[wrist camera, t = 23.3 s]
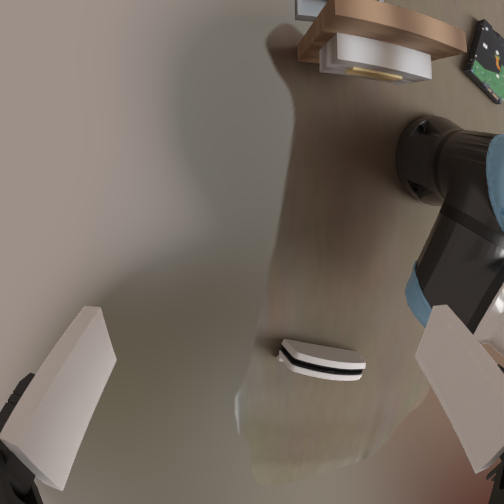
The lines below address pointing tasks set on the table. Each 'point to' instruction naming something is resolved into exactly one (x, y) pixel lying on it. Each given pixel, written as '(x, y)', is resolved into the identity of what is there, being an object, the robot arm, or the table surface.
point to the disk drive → (487, 61)
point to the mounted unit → (378, 41)
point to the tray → (309, 9)
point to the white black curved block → (321, 361)
